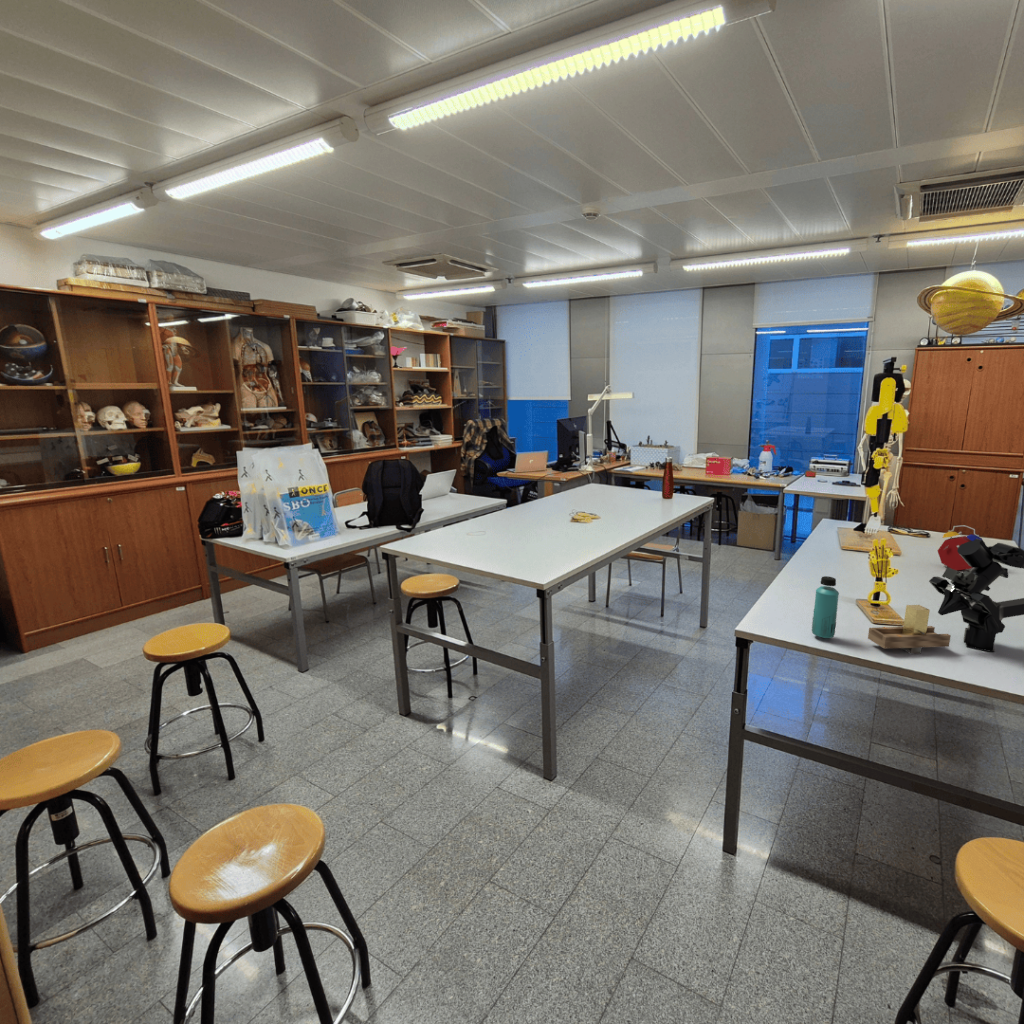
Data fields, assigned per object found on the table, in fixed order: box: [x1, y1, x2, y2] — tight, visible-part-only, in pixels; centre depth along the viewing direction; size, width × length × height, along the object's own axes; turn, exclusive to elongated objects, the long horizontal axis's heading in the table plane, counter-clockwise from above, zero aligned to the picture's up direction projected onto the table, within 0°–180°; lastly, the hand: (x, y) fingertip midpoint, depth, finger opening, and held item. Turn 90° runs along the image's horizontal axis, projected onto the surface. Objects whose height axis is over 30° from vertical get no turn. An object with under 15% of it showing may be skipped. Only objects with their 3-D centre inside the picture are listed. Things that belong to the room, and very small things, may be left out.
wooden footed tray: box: [867, 625, 951, 655], centre depth 166 cm, size 20×7×6 cm, turn 94°
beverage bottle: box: [811, 575, 840, 639], centre depth 172 cm, size 6×7×20 cm
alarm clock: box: [937, 524, 983, 572], centre depth 241 cm, size 15×9×20 cm, turn 35°
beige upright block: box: [902, 604, 931, 635], centre depth 165 cm, size 4×7×9 cm, turn 4°
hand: (939, 613), depth 165 cm, fingers closed
